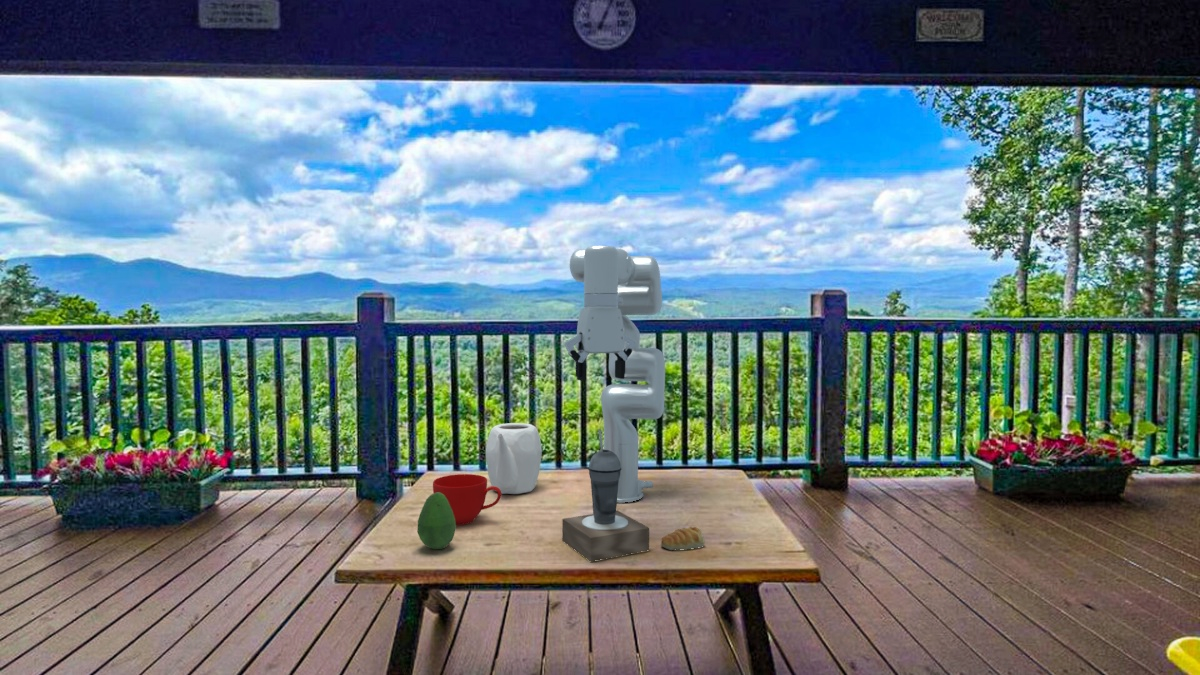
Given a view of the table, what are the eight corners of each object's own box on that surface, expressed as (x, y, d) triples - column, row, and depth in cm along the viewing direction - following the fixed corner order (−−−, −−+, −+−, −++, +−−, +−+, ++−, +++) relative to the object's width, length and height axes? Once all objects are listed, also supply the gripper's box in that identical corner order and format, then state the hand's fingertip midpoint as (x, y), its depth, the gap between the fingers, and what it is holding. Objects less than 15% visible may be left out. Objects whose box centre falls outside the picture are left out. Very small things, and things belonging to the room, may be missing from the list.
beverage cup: (618, 527, 133) (618, 433, 132) (584, 525, 134) (584, 432, 134) (623, 517, 140) (624, 427, 139) (591, 515, 141) (592, 426, 141)
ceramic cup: (491, 532, 146) (491, 489, 145) (423, 527, 149) (423, 485, 148) (509, 515, 158) (509, 476, 158) (446, 511, 161) (446, 472, 161)
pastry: (671, 555, 132) (671, 537, 132) (654, 545, 138) (654, 528, 138) (707, 548, 137) (707, 530, 137) (689, 539, 143) (689, 522, 143)
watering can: (471, 503, 169) (471, 433, 168) (500, 479, 195) (500, 418, 195) (527, 506, 167) (527, 435, 166) (549, 481, 193) (549, 419, 193)
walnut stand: (617, 531, 146) (617, 508, 146) (649, 551, 134) (649, 526, 134) (562, 541, 140) (562, 516, 140) (590, 562, 128) (590, 536, 127)
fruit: (444, 539, 141) (443, 486, 140) (462, 548, 135) (462, 493, 135) (411, 547, 135) (410, 492, 135) (428, 558, 130) (428, 500, 129)
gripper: (626, 302, 147) (625, 375, 147) (558, 302, 138) (558, 379, 139) (643, 302, 140) (642, 378, 141) (573, 301, 132) (573, 383, 133)
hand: (600, 379), depth 140 cm, fingers open, 9 cm apart
